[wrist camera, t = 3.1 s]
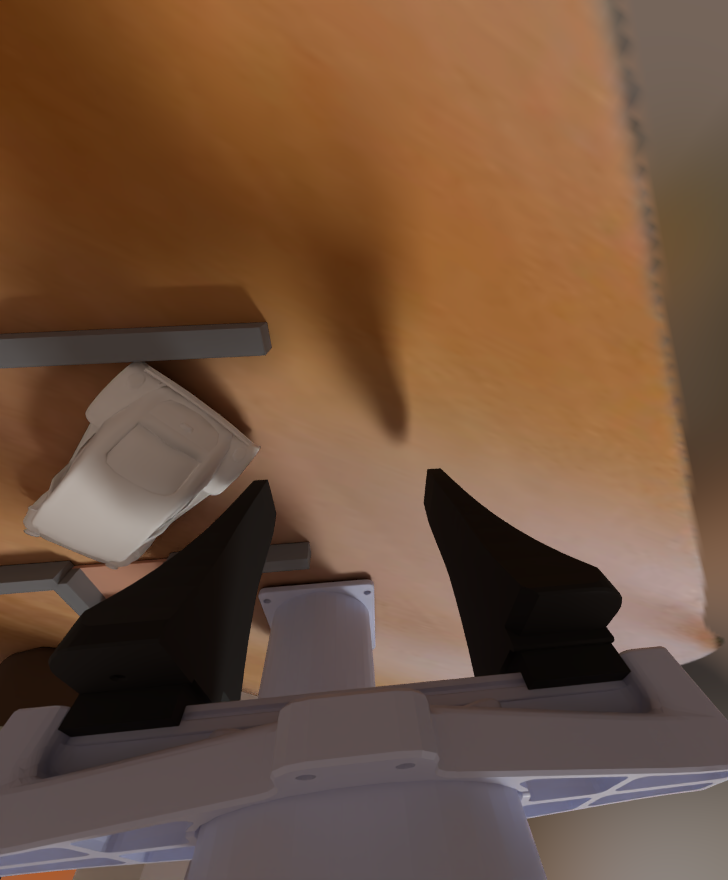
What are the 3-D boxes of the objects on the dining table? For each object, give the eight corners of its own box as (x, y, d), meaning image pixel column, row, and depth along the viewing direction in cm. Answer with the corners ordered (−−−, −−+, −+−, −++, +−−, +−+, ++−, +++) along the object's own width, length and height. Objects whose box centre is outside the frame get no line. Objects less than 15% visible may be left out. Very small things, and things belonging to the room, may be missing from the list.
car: (152, 341, 12) (57, 379, 8) (273, 436, 15) (247, 499, 11) (34, 498, 15) (-72, 578, 11) (149, 551, 18) (94, 631, 14)
